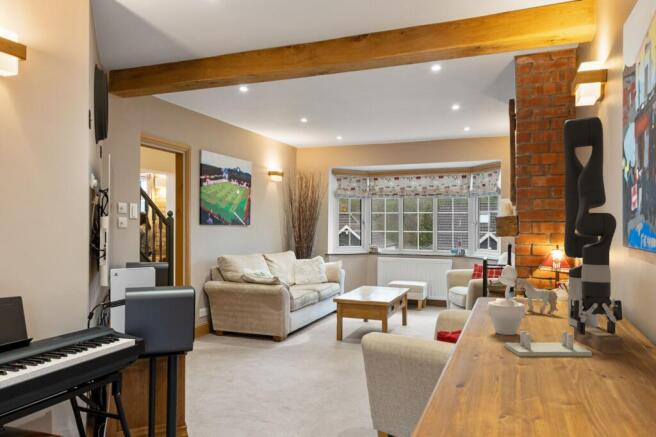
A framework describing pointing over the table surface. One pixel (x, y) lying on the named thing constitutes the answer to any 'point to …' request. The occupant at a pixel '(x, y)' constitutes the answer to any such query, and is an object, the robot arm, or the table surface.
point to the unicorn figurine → (538, 295)
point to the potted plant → (506, 306)
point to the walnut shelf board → (599, 340)
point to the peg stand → (547, 347)
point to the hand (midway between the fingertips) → (596, 334)
